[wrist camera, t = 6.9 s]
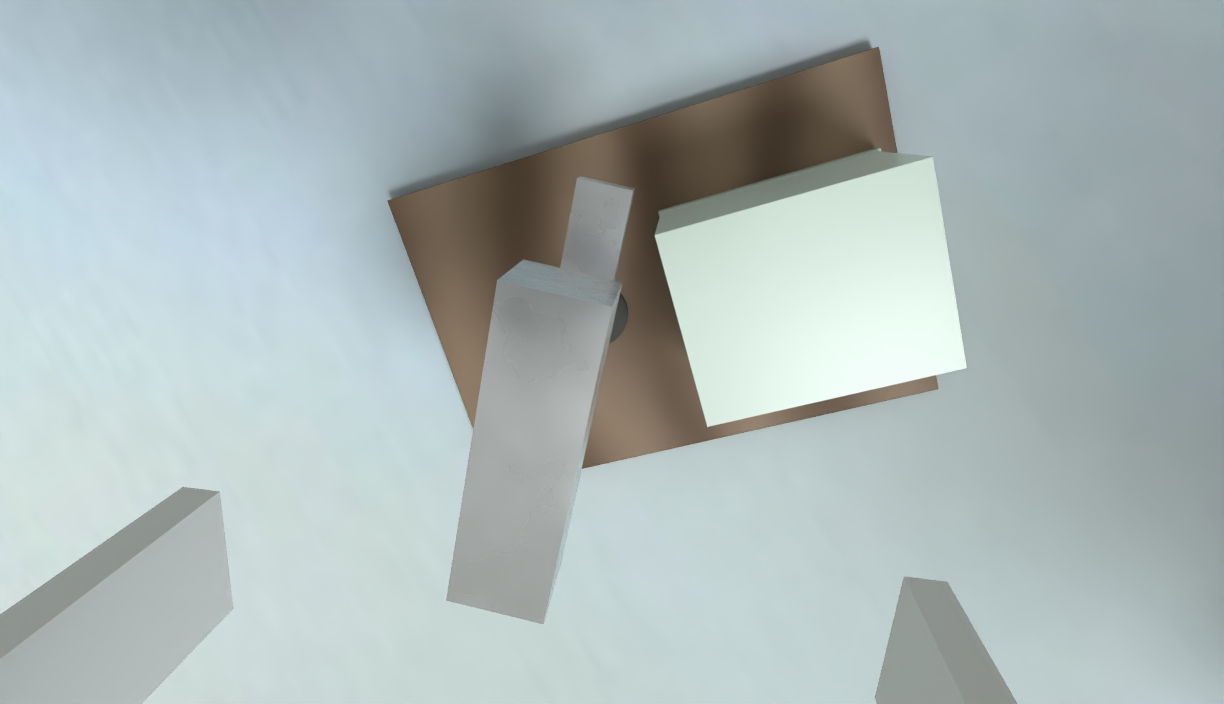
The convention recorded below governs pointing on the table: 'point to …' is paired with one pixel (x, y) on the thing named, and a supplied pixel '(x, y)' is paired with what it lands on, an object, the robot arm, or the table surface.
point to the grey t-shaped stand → (538, 410)
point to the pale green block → (813, 284)
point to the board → (638, 239)
